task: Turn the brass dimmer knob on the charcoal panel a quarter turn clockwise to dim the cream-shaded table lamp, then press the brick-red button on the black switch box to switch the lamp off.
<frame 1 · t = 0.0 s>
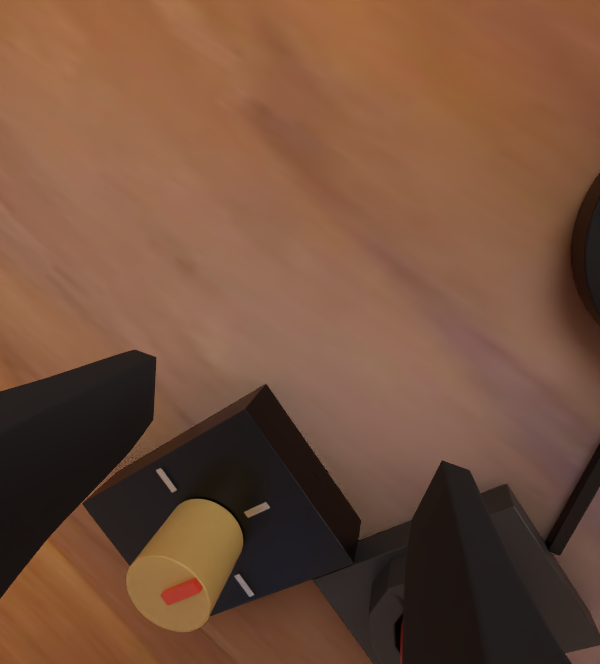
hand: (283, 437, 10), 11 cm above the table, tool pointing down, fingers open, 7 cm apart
dimmer knob: (186, 563, 20), point 5 cm above the table, hinge at 0.0°
lamp switch: (451, 655, 19), point 4 cm above the table, slide at 0.1 cm
switch box: (445, 581, 23), on the table
dimmer panel: (230, 494, 25), on the table
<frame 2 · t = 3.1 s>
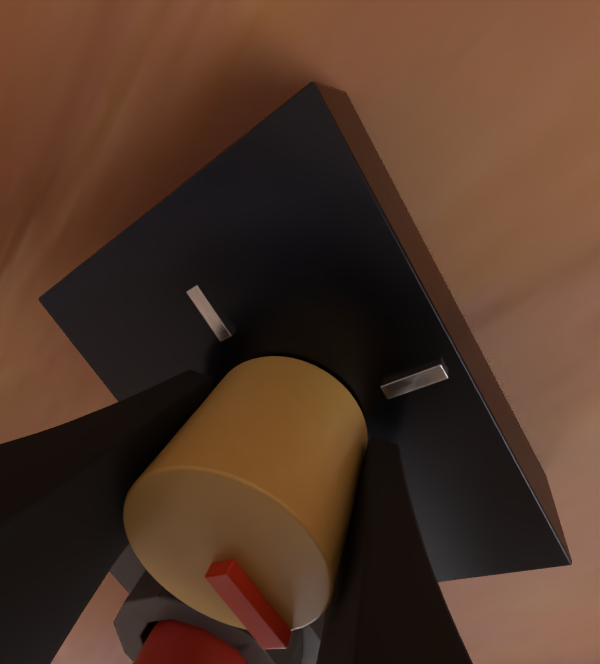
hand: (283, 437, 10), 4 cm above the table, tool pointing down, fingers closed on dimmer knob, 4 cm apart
dimmer knob: (258, 485, 9), point 5 cm above the table, hinge at 0.0°, touching gripper
switch box: (235, 580, 19), on the table
dimmer panel: (318, 366, 13), on the table
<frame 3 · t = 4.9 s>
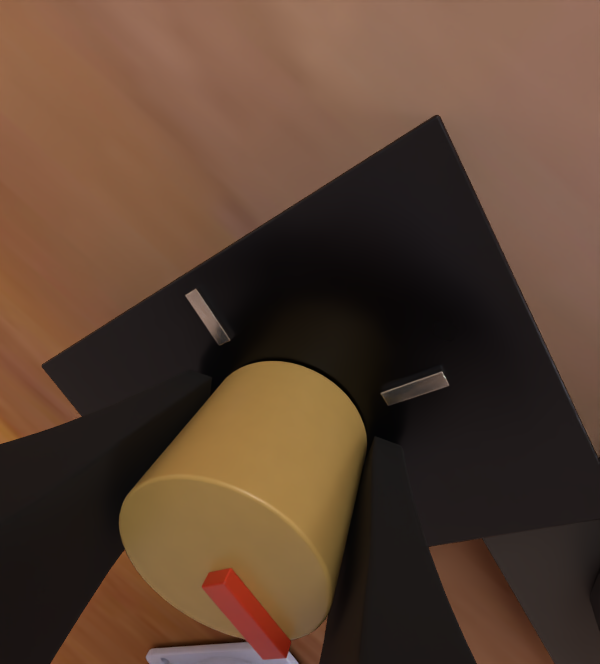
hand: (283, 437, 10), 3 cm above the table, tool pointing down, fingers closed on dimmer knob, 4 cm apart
dimmer knob: (256, 491, 9), point 5 cm above the table, hinge at -88.7°, touching gripper
dimmer panel: (317, 370, 13), on the table
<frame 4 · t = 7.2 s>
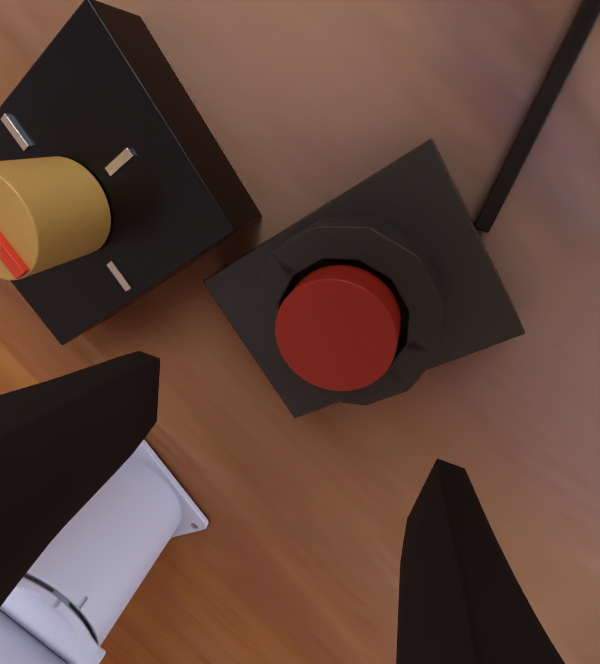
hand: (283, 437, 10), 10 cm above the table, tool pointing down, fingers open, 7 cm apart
dimmer knob: (30, 216, 16), point 5 cm above the table, hinge at -88.9°
lamp switch: (338, 328, 16), point 4 cm above the table, slide at 0.1 cm
switch box: (356, 291, 19), on the table
dimmer panel: (117, 196, 21), on the table
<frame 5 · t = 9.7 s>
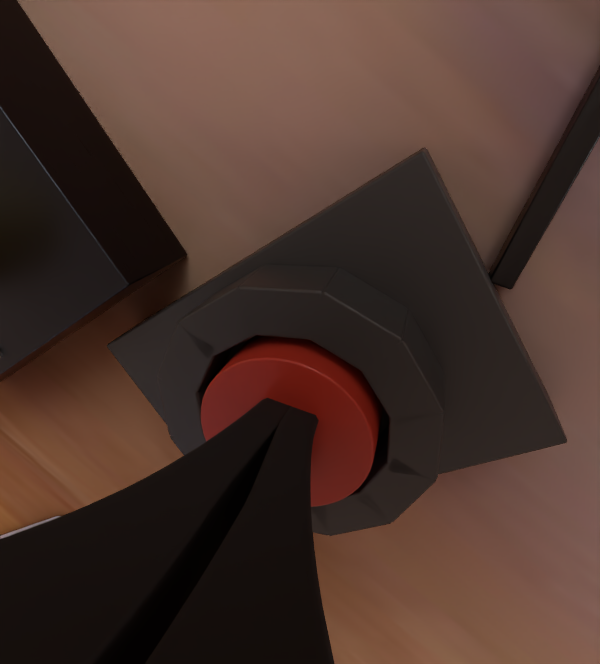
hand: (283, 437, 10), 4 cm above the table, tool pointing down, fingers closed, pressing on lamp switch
lamp switch: (293, 417, 11), point 3 cm above the table, slide at -0.8 cm, touching gripper
switch box: (321, 360, 14), on the table
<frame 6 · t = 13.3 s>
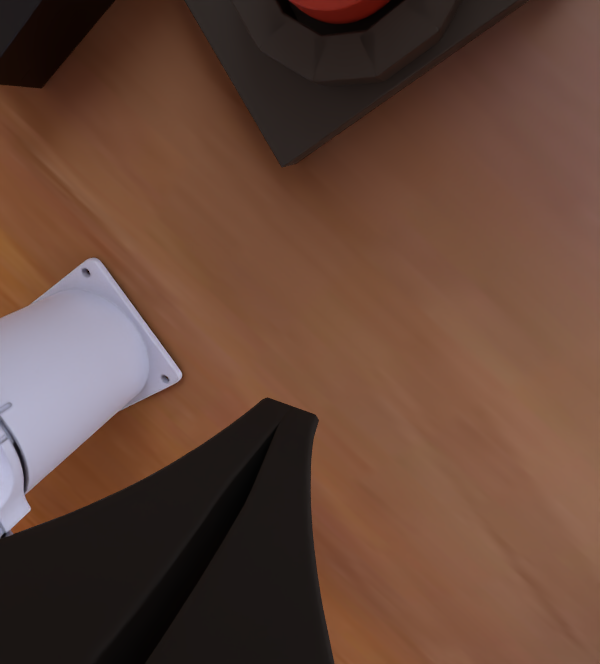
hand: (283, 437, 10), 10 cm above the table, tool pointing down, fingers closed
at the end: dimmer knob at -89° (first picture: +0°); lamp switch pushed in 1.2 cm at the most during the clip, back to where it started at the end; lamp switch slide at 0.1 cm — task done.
